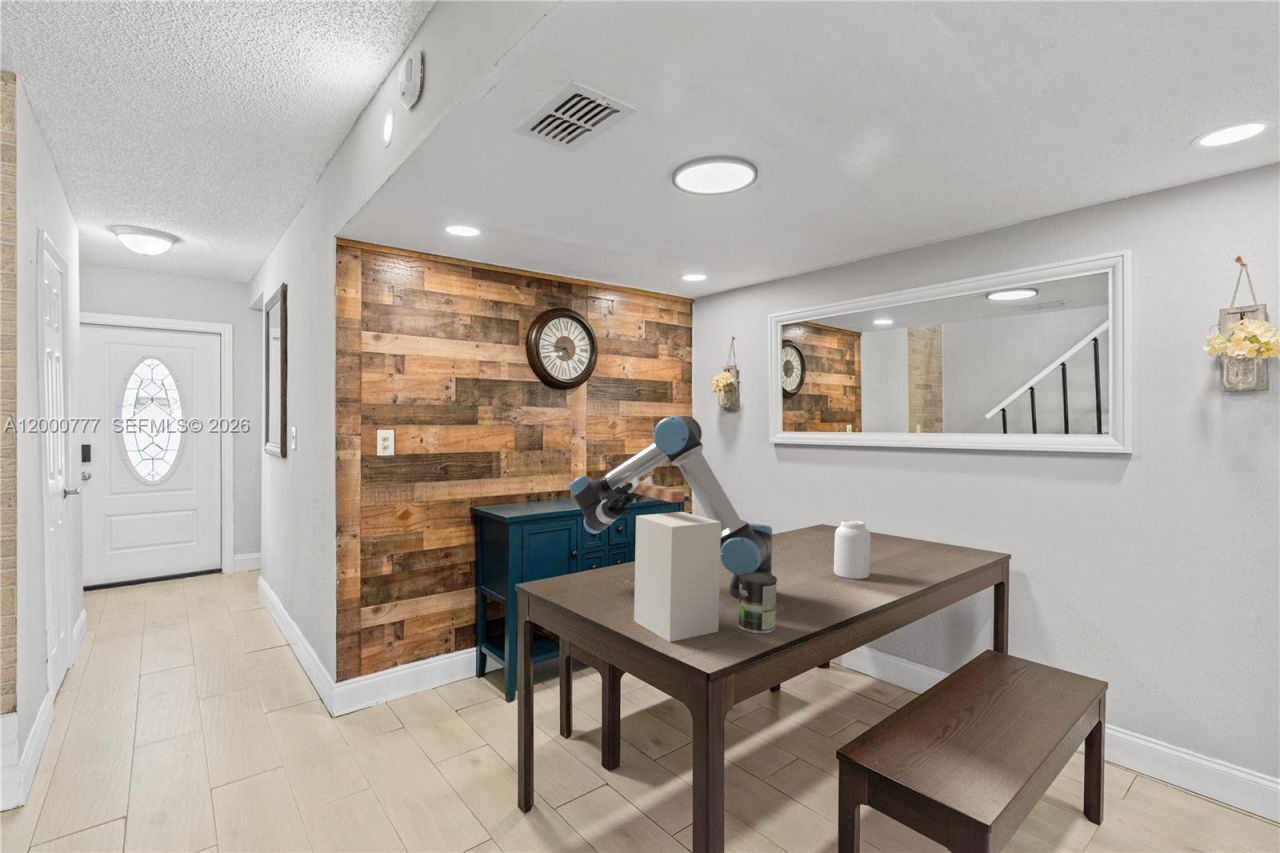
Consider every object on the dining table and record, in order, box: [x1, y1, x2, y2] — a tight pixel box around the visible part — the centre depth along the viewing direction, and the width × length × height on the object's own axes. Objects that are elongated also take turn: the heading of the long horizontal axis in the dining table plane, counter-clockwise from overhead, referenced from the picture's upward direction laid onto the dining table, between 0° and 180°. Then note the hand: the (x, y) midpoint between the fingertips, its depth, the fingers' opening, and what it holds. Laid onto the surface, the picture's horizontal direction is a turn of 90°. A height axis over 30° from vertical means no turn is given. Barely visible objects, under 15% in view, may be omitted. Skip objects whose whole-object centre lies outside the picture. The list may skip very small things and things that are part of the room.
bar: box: [625, 481, 685, 503], centre depth 182 cm, size 26×4×3 cm, turn 32°
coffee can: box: [737, 572, 778, 634], centre depth 173 cm, size 10×10×14 cm
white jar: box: [833, 519, 872, 580], centre depth 229 cm, size 12×12×20 cm
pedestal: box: [633, 511, 721, 643], centre depth 172 cm, size 18×16×30 cm
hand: (645, 480), depth 186 cm, fingers closed on bar, 4 cm apart
